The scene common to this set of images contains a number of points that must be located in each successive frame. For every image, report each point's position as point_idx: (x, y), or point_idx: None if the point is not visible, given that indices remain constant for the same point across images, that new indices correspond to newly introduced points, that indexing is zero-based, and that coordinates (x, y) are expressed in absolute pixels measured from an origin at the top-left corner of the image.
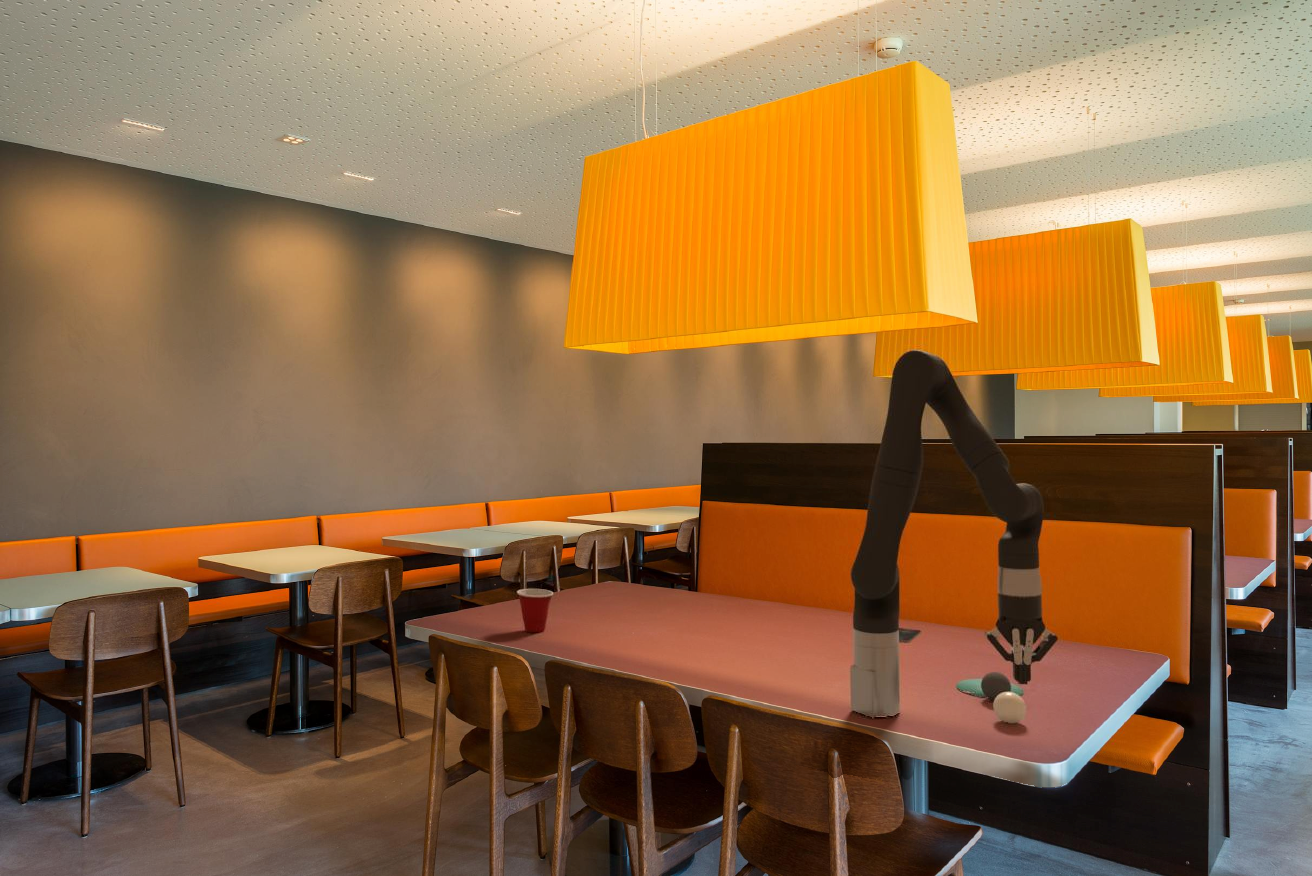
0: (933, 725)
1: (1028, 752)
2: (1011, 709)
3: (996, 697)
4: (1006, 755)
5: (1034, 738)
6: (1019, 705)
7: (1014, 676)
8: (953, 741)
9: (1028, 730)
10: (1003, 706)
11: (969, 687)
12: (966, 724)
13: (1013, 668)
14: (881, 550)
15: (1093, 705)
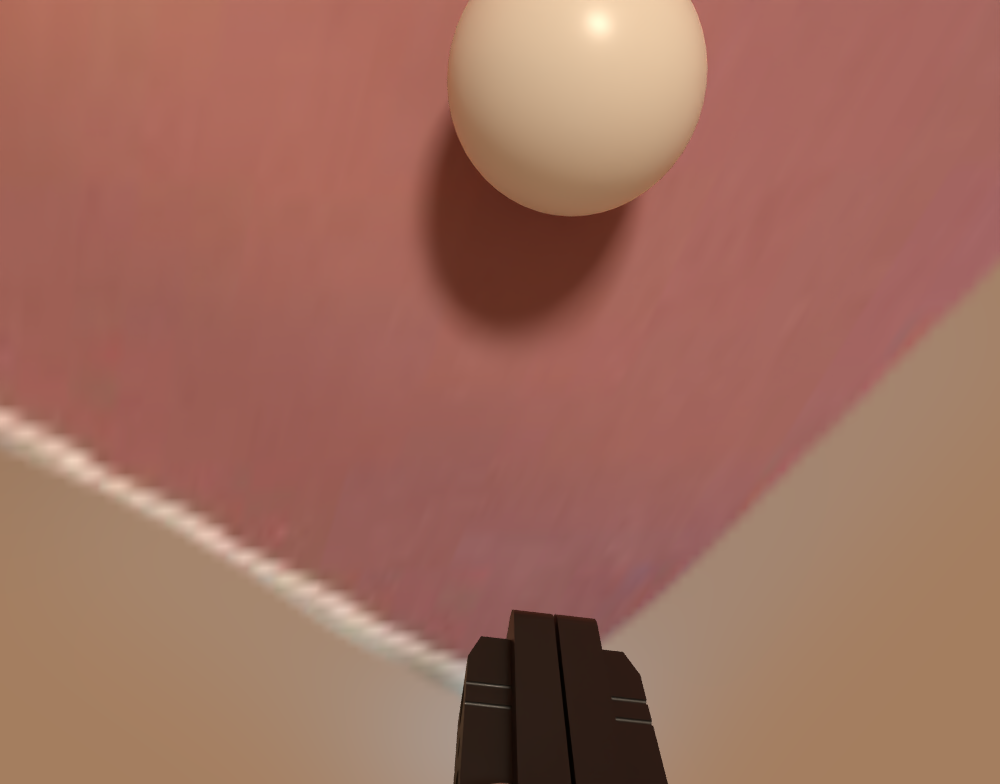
0: (17, 160)
1: (488, 566)
2: (546, 212)
3: (474, 45)
4: (366, 602)
5: (603, 380)
6: (619, 202)
7: (459, 722)
8: (125, 435)
9: (626, 246)
10: (493, 182)
11: None
12: (248, 134)
13: (458, 763)
14: None
15: None
